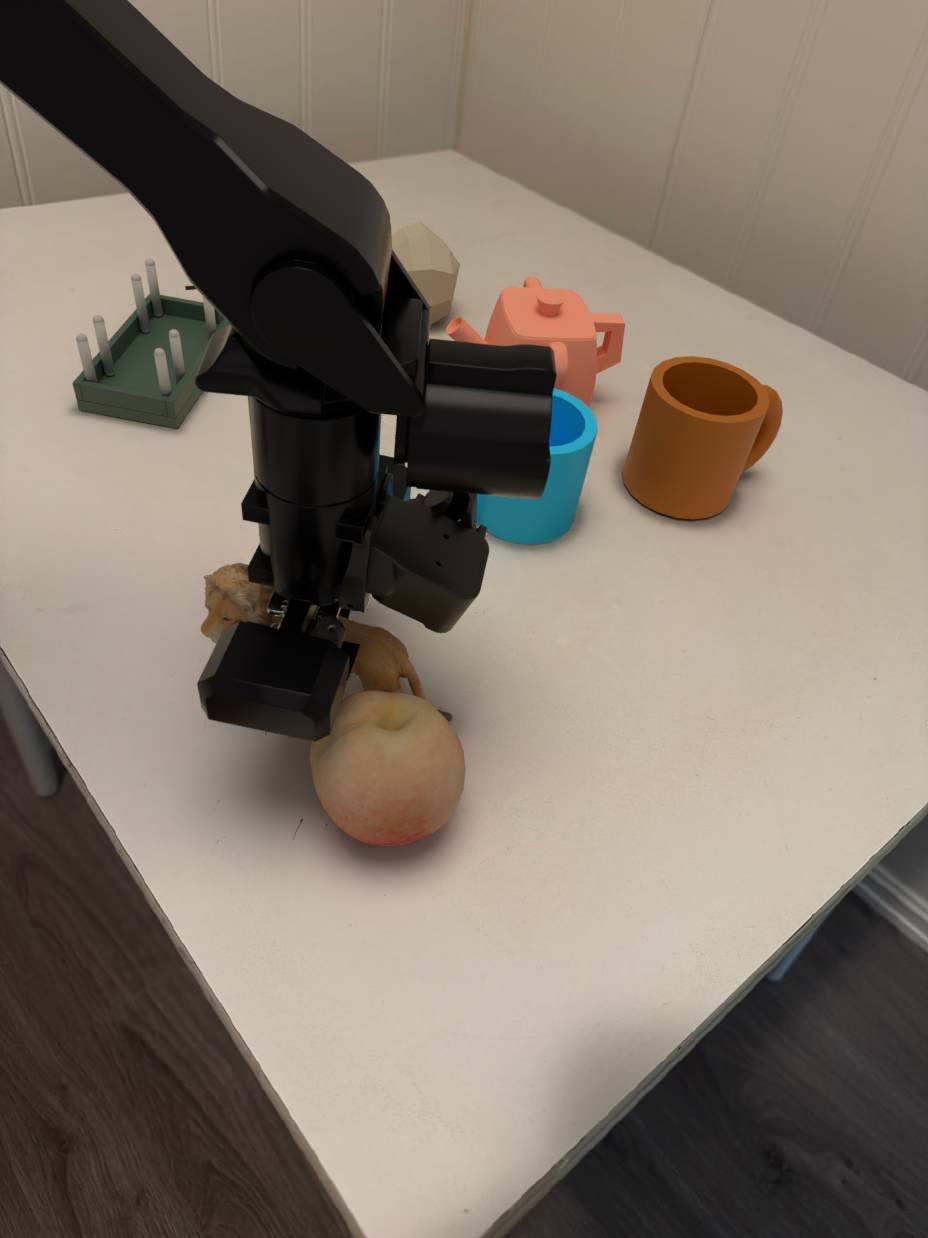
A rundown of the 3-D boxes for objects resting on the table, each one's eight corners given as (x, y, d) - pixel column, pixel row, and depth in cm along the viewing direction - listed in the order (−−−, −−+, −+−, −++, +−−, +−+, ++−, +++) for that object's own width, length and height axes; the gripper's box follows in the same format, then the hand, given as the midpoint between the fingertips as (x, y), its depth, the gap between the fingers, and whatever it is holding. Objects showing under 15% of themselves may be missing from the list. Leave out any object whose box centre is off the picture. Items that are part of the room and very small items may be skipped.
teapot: (434, 397, 76) (443, 291, 68) (519, 349, 82) (536, 247, 75) (540, 460, 71) (562, 353, 64) (621, 403, 78) (649, 301, 71)
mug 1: (545, 466, 71) (564, 377, 65) (593, 532, 66) (619, 443, 60) (405, 492, 67) (412, 400, 61) (445, 564, 62) (457, 473, 56)
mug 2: (783, 520, 69) (830, 425, 63) (637, 521, 67) (670, 423, 61) (745, 450, 75) (784, 356, 68) (610, 449, 73) (637, 352, 67)
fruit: (449, 743, 52) (464, 657, 46) (462, 870, 47) (479, 790, 41) (312, 745, 51) (309, 657, 45) (309, 875, 45) (305, 795, 40)
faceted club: (469, 332, 81) (191, 348, 77) (451, 309, 88) (194, 323, 84) (470, 229, 77) (173, 239, 72) (450, 214, 84) (178, 223, 79)
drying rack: (78, 410, 69) (60, 339, 65) (154, 318, 79) (143, 251, 75) (177, 428, 69) (166, 358, 64) (240, 334, 79) (234, 267, 74)
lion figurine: (200, 701, 52) (178, 601, 45) (234, 635, 56) (218, 532, 49) (441, 758, 51) (455, 664, 44) (461, 687, 55) (476, 589, 48)
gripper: (450, 651, 34) (420, 843, 46) (514, 390, 47) (478, 592, 58) (172, 594, 35) (212, 799, 46) (310, 350, 47) (314, 559, 59)
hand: (320, 675), depth 52 cm, fingers closed on lion figurine, 4 cm apart
